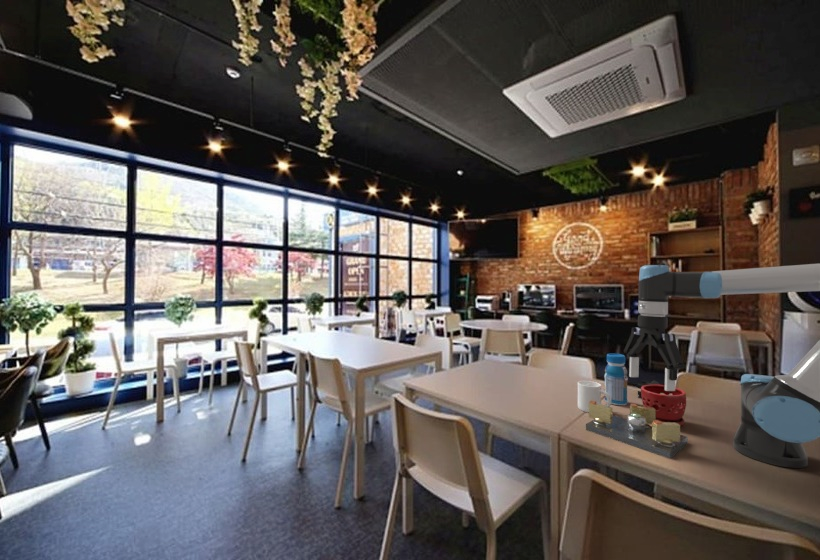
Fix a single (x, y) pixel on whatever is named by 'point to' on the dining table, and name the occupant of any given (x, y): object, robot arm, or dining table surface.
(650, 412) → the knob rear
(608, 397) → the mug
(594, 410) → the knob
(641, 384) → the end cap
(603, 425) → the levelling plate
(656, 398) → the plant pot
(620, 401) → the beverage bottle
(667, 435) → the knob
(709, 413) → the dining table surface
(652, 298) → the robot arm
